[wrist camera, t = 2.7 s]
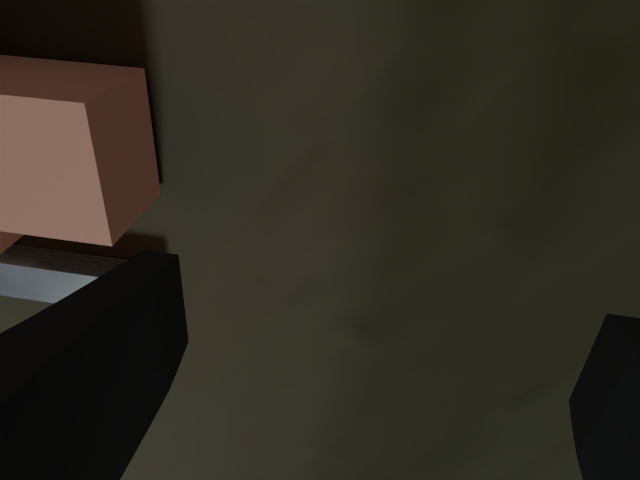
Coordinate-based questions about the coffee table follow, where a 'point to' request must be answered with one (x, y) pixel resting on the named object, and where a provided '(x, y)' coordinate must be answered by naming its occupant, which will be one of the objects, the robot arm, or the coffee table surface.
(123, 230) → the block
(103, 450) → the robot arm
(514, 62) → the coffee table surface
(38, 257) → the pale grey flat frame
